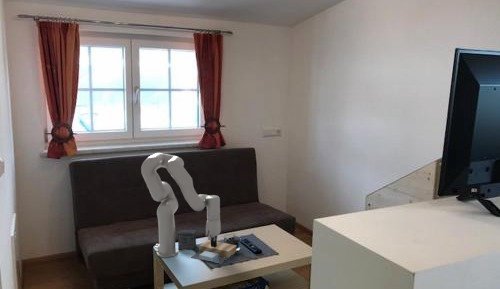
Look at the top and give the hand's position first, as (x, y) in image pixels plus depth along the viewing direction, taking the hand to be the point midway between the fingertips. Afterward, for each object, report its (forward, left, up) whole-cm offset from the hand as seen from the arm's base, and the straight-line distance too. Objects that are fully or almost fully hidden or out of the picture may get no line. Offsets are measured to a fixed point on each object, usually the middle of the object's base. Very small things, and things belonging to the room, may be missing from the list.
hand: (213, 246), depth 230 cm
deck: (0, +5, -5) cm, 7 cm away
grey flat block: (0, -6, -2) cm, 6 cm away
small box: (-20, +2, -6) cm, 21 cm away
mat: (0, -5, -5) cm, 7 cm away
